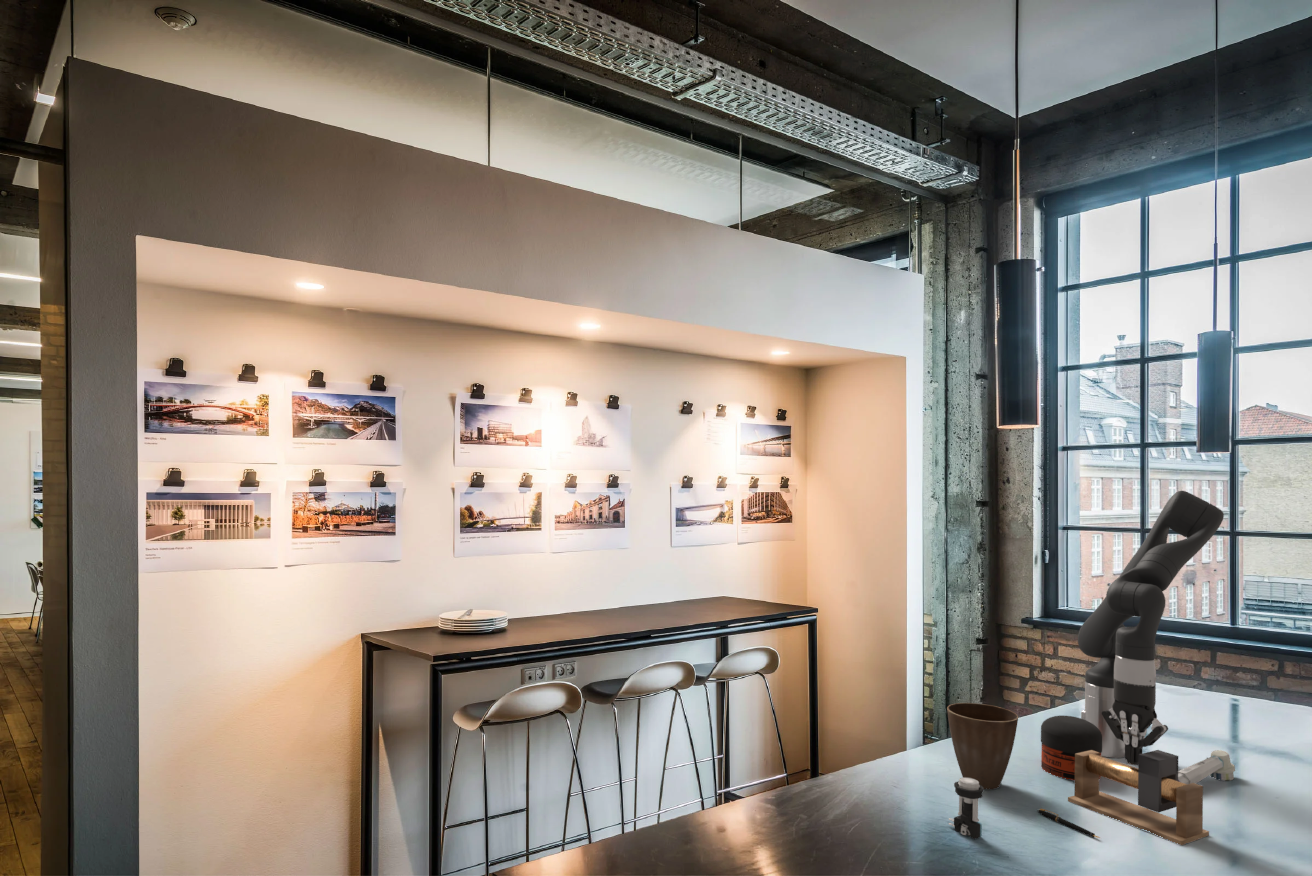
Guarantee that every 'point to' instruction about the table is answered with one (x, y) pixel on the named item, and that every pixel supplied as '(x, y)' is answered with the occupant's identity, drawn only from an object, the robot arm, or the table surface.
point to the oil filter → (1067, 743)
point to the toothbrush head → (1209, 769)
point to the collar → (1155, 779)
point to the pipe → (1127, 775)
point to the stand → (1175, 830)
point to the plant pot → (982, 740)
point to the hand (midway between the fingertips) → (1133, 763)
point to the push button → (968, 807)
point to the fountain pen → (1065, 822)
